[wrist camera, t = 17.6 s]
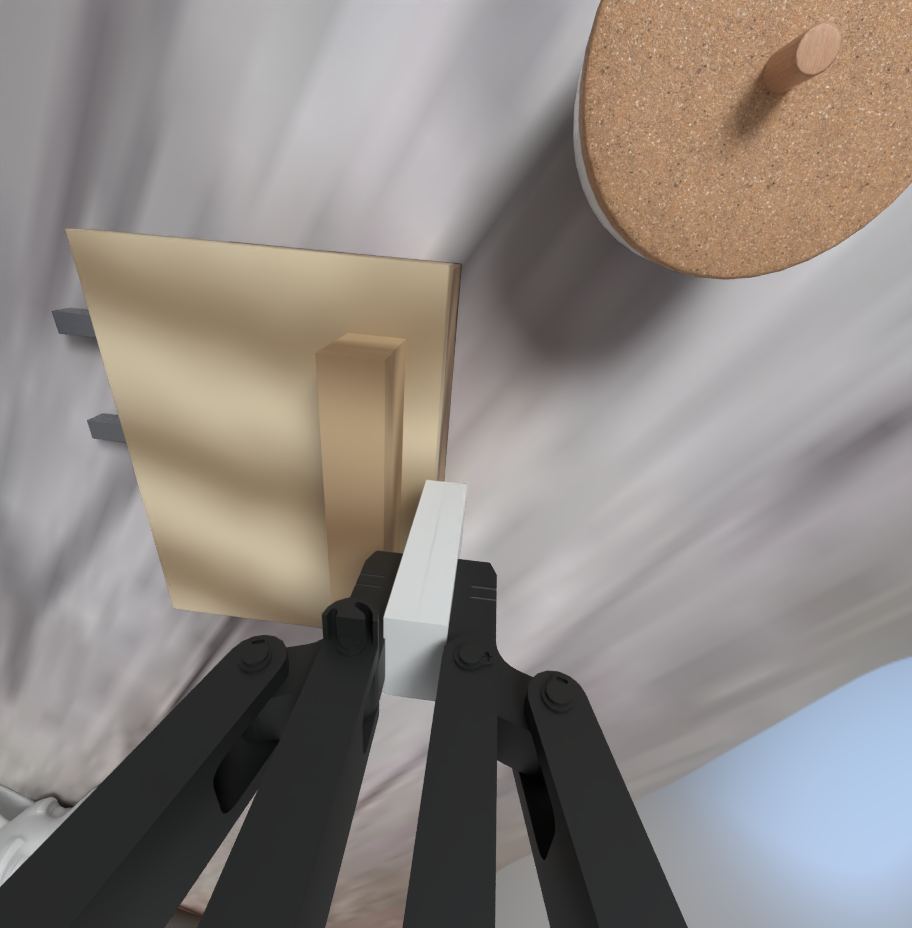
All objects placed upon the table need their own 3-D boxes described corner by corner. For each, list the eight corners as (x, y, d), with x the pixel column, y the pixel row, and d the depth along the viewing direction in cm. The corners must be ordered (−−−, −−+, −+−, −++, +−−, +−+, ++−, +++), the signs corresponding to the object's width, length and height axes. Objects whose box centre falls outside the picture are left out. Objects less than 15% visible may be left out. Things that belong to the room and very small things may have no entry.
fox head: (157, 896, 44) (-63, 828, 39) (62, 1014, 45) (-167, 966, 39) (203, 776, 57) (43, 712, 51) (128, 870, 58) (-38, 818, 52)
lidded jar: (544, 266, 22) (570, 283, 14) (568, -36, 17) (632, -295, 9) (771, 267, 21) (946, 285, 13) (863, -50, 16) (1242, -352, 8)
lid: (95, 229, 15) (-34, 226, 12) (452, 263, 15) (436, 271, 11) (188, 591, 23) (128, 658, 19) (427, 622, 23) (412, 698, 19)
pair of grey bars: (70, 307, 25) (51, 310, 24) (138, 314, 25) (122, 318, 24) (108, 430, 29) (92, 438, 28) (167, 437, 28) (154, 445, 27)
